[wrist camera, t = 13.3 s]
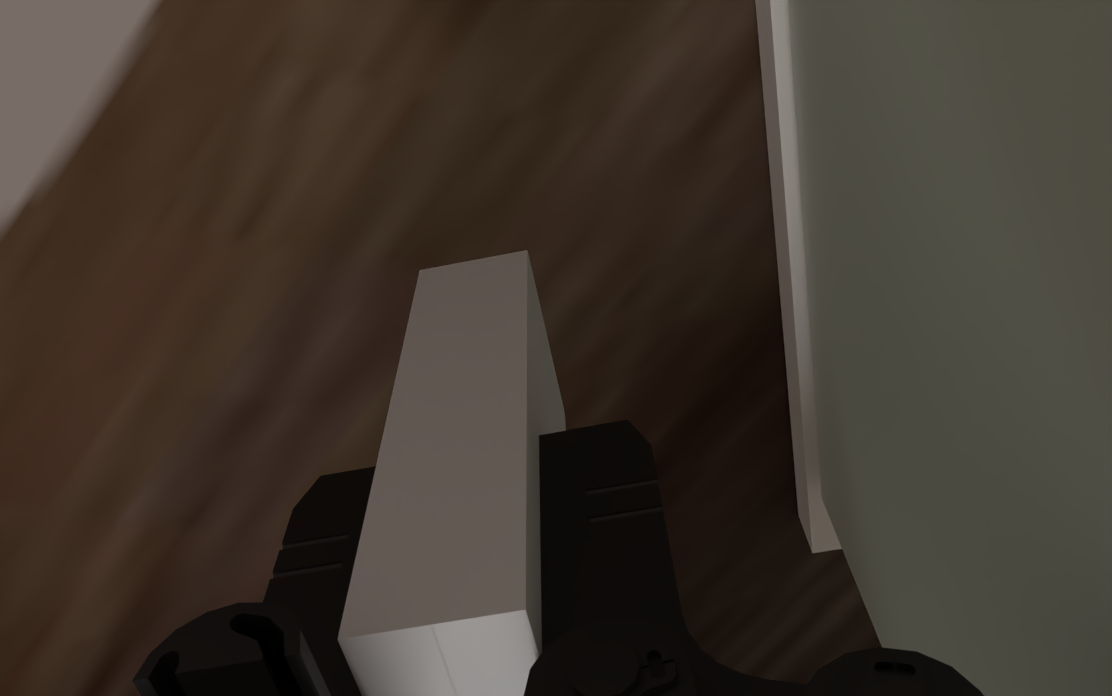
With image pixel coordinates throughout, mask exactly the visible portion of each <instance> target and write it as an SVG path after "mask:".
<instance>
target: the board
mask: <svg viewBox="0 0 1112 696" xmlns="http://www.w3.org/2000/svg"><path fill="white" fill-rule="evenodd" d="M755 3H756V15H757V26H758V38H759V50H760V62H761V74H762V86H763V98H764V110H765V122H766V134H767V146H768V158H769V170H770V182H771V194H772V206H773V217H774V229H775V241H776V253H777V265H778V277H779V289H780V301H781V313H782V325H783V337H784V349H785V361H786V373H787V385H788V397H789V408H790V420H791V432H792V444H793V456H794V468H795V480H796V492H797V504H798V516H799V518H800V521H801V524H802V526H803V529H804V532H805V535H806V537H807V540H808V543H809V546H810V548H811V551H812V553H818V552H824V551H830V550H837V549H842V547H841V545H840V543H839V540H838V538H837V535H836V533H835V530H834V528H833V525H832V523H831V520H830V518H829V515H828V513H827V511H826V508H825V506H824V503H823V501H822V498H821V483H820V468H819V454H818V439H817V424H816V409H815V394H814V379H813V364H812V349H811V335H810V320H809V305H808V290H807V275H806V260H805V245H804V231H803V216H802V201H801V186H800V171H799V156H798V141H797V126H796V112H795V97H794V82H793V67H792V52H791V37H790V22H789V8H788V0H755Z"/></svg>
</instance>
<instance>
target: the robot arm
mask: <svg viewBox="0 0 1112 696" xmlns="http://www.w3.org/2000/svg"><path fill="white" fill-rule="evenodd" d="M282 545H283V550H280V551H279V554H278V557H277V560H276V563H275V566H274V570H273V575H274V578H273V579H270V582H269V585H268V588H267V591H266V594H265V597H264V600H263V603H236V604H233V605H229V606H226V607H223V608H219V609H216V610H213V611H210V612H206V613H205V614H203V615H201V616H199V617H198V618H196V619H194V620H192V621H191V622H189V623H187V624H185V625H184V626H182V627H180V628H178V629H177V630H175V631H174V632H173V633H172V634H171V635H170V636H169V637H168V638H166V639H165V640H164V641H163V642H162V643H161V644H160V645H159V646H158V647H157V648H155V649H154V650H153V651H152V652H151V653H150V654H149V656H148V657H147V659H146V660H145V662H144V663H143V665H142V667H141V668H140V670H139V671H138V673H137V674H136V676H135V677H134V679H133V682H134V684H135V685H136V687H137V689H138V690H139V692H140V694H141V695H142V696H984V695H983V694H982V692H981V691H980V690H979V689H978V688H976V687H975V686H974V685H973V684H972V683H971V682H969V681H968V680H967V679H966V678H965V677H964V676H962V675H961V674H960V673H959V672H958V671H957V670H955V669H954V668H953V667H952V666H950V665H947V664H945V663H943V662H940V661H938V660H936V659H933V658H931V657H929V656H926V655H924V654H922V653H919V652H917V651H909V650H900V649H892V648H883V647H878V648H873V649H867V650H862V651H856V652H851V653H846V654H844V655H842V656H841V657H839V658H837V659H836V660H834V661H832V662H830V663H829V664H827V665H825V666H824V667H822V668H820V669H818V671H817V672H816V674H815V675H814V676H813V678H812V679H811V681H810V682H809V683H808V685H806V684H798V683H790V682H783V681H775V680H768V679H763V678H759V677H754V676H750V675H746V674H741V673H739V672H737V671H735V670H732V669H730V668H728V667H726V666H724V665H722V664H720V663H718V662H716V661H715V660H714V659H713V658H711V657H710V656H709V655H708V654H706V653H705V652H704V651H703V650H701V649H700V648H699V646H698V645H697V644H696V642H695V641H694V640H693V638H692V637H691V636H690V634H689V633H688V631H687V628H686V625H685V622H684V619H683V617H682V613H681V607H680V602H679V596H678V591H677V585H676V580H675V574H674V569H673V563H672V558H671V552H670V547H669V541H668V536H667V530H666V525H665V520H664V514H663V509H662V503H661V498H660V492H659V487H658V481H657V476H656V470H655V465H654V459H653V454H652V448H651V444H650V443H649V442H648V441H647V440H646V439H645V438H644V437H643V436H642V435H641V434H640V433H639V432H638V431H637V430H636V429H635V428H634V427H633V426H632V424H631V423H630V422H629V421H628V420H624V421H618V422H613V423H607V424H601V425H595V426H589V427H584V428H578V429H572V430H566V424H565V412H564V407H563V403H562V399H561V394H560V390H559V386H558V381H557V377H556V373H555V368H554V364H553V360H552V355H551V351H550V346H549V342H548V338H547V333H546V329H545V325H544V320H543V316H542V312H541V307H540V303H539V299H538V294H537V290H536V285H535V281H534V277H533V272H532V268H531V264H530V259H529V255H528V251H527V250H525V251H520V252H515V253H509V254H504V255H499V256H493V257H488V258H483V259H477V260H472V261H467V262H461V263H456V264H451V265H445V266H440V267H435V268H429V269H424V270H420V271H419V276H418V280H417V285H416V289H415V294H414V298H413V303H412V307H411V312H410V316H409V321H408V325H407V330H406V334H405V339H404V343H403V348H402V352H401V357H400V361H399V366H398V370H397V375H396V379H395V383H394V388H393V392H392V397H391V401H390V406H389V410H388V415H387V419H386V424H385V428H384V433H383V437H382V442H381V446H380V451H379V455H378V460H377V464H376V466H375V467H370V468H364V469H358V470H352V471H346V472H340V473H335V474H329V475H323V476H320V477H319V478H318V479H317V481H316V482H315V483H314V484H313V485H312V487H311V488H310V489H309V490H308V492H307V493H306V494H305V495H304V496H303V498H302V499H301V500H300V501H299V502H298V504H297V505H296V506H295V507H294V508H293V511H292V514H291V517H290V520H289V523H288V526H287V529H286V532H285V536H284V539H283V542H282Z"/></svg>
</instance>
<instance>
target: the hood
mask: <svg viewBox="0 0 1112 696" xmlns="http://www.w3.org/2000/svg"><path fill="white" fill-rule="evenodd" d="M788 8H789V22H790V37H791V52H792V67H793V82H794V97H795V112H796V126H797V141H798V156H799V171H800V186H801V201H802V216H803V231H804V245H805V260H806V275H807V290H808V305H809V320H810V335H811V349H812V364H813V379H814V394H815V409H816V424H817V439H818V454H819V468H820V483H821V498H822V501H823V503H824V506H825V508H826V511H827V513H828V515H829V518H830V520H831V523H832V525H833V528H834V530H835V533H836V535H837V538H838V540H839V543H840V545H841V547H842V550H843V552H844V555H845V557H846V560H847V562H848V565H849V567H850V570H851V572H852V575H853V577H854V579H855V582H856V584H857V587H858V589H859V592H860V594H861V597H862V599H863V602H864V604H865V607H866V609H867V611H868V614H869V616H870V619H871V621H872V624H873V626H874V629H875V631H876V634H877V636H878V639H879V641H880V643H881V646H882V647H883V648H892V649H900V650H909V651H917V652H919V653H922V654H924V655H926V656H929V657H931V658H933V659H936V660H938V661H940V662H943V663H945V664H947V665H950V666H952V667H953V668H954V669H955V670H957V671H958V672H959V673H960V674H961V675H962V676H964V677H965V678H966V679H967V680H968V681H969V682H971V683H972V684H973V685H974V686H975V687H976V688H978V689H979V690H980V691H981V692H982V694H983V695H984V696H1112V0H788Z"/></svg>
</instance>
